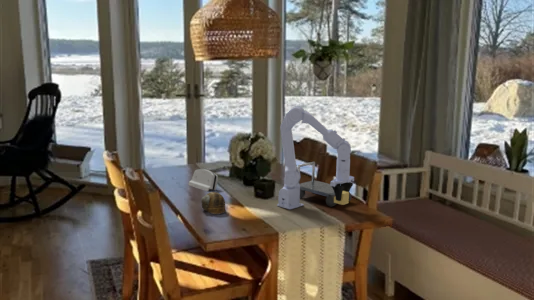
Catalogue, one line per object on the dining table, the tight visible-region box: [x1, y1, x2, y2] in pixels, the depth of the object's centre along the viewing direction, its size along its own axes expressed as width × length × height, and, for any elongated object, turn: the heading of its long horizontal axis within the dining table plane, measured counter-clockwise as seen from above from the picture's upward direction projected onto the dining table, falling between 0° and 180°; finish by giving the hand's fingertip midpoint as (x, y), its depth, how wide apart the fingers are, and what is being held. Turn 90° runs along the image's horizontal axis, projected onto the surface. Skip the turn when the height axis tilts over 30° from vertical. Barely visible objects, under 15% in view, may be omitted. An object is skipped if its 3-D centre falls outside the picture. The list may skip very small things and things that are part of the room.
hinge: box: [188, 168, 219, 192], centre depth 250 cm, size 17×5×10 cm, turn 45°
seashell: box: [201, 191, 227, 215], centre depth 212 cm, size 11×9×8 cm
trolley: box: [297, 161, 352, 208], centre depth 232 cm, size 14×24×16 cm, turn 45°
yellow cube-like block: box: [334, 191, 350, 206], centre depth 218 cm, size 4×5×5 cm
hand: (341, 199), depth 218 cm, fingers closed on yellow cube-like block, 4 cm apart
